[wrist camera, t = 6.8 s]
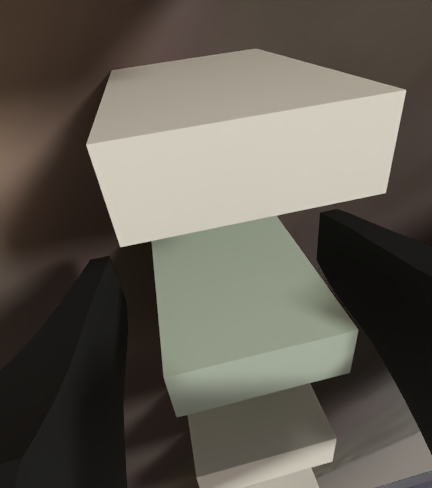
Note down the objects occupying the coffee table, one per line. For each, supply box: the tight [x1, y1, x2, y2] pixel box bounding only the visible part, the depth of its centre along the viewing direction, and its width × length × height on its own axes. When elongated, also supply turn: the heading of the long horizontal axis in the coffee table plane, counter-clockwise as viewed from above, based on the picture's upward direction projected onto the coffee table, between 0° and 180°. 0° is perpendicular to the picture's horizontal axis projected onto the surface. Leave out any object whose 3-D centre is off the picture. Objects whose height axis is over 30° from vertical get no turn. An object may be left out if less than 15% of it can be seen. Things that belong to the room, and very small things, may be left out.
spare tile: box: [151, 216, 358, 417], centre depth 11 cm, size 2×4×7 cm, turn 96°
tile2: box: [86, 49, 406, 247], centre depth 8 cm, size 2×4×7 cm, turn 96°
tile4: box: [188, 383, 337, 488], centre depth 14 cm, size 2×4×7 cm, turn 97°
